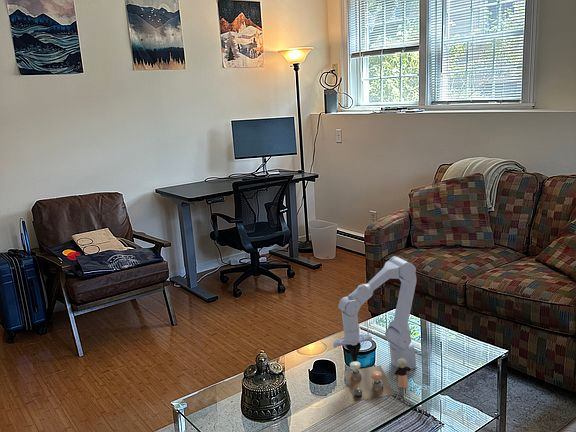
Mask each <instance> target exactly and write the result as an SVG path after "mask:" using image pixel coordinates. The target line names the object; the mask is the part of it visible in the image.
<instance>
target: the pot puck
mask: <svg viewBox="0 0 576 432" xmlns="http://www.w3.org/2000/svg"><path fill="white" fill-rule="evenodd" d="M354 396H355V397H357V398H360V397H362V390H361V389H359V388H357V389H355V390H354Z"/></svg>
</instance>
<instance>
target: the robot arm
mask: <svg viewBox="0 0 576 432" xmlns="http://www.w3.org/2000/svg"><path fill="white" fill-rule="evenodd" d="M416 271H417V268H416V266H415V265H413V263H412V262H410V261H409V262H408V261H406V260H405V259H403V258H401V257H399V256H392V257H390V258H389V260H388V261H386V262H385V263H384V265H383V267H382V268H381V270H379V272H377V273H376V274H375V275H374V276H373V277H372V278H371V279H370V280H369V281H368V282H367V283H361V284H359V285H358V286H357V288H355V289H354V290H353V291H352V292H351V293H349V294H348V296H343V297H342V298H340V300H339V302H338V303H339V304H337V307H338V309H339V310H340V312H341V319H342V328H343V336H344V337H340V338H337V339H335V340H332V342H333V343H332V345H333V348H337V347H340V346H346V349H347V350H348V351H349V353H350V356H351V360H352V362H358V355H359V352H360V350H361V348H362V346H361V343H363V342H372V341H373V338H372V337H373V336H372V335H371V334H360V329H359V316H358V313H359V312H360V309H361V307H362V305H364V303H366V302H367V301H368V300H369V299H370V298H372V297H373V295H374V291H375V290H376V289H378V288H379V287H380V286H382V285H383V284H384V283H385V282H387V281H388V280H390V279H393V280H394V279H395V280H399V281H400V288H399V293H398V297H397V298H398V299H397V303H396V308H395V312H394V317H393V320H391V321H389V323H388V327H387V328H386V329H385V333H384V336H385V338H386V340H387V341H388V343H389V345H388V346H389V355H390V357H389V358H390V363H391V365H392V366H394V367H397V368H399V365H398V363H397V361H398V359H400V358H403V359H405V360H406V361H407V363H406V366H407V367H409V368H411V370H412V369H417V368H418V366H417V359H416V349H415V345H414V344H413V343H412V337H411V334H412V331H411V330H412V329H411V328H410V326H409V319H410V314H411V309H412V304H413V299H414V295H415V292H416V291H415V290H416V285H417V279H418V278H417V274H416Z"/></svg>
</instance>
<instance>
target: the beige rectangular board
mask: <svg viewBox="0 0 576 432" xmlns="http://www.w3.org/2000/svg"><path fill="white" fill-rule="evenodd" d="M374 371H380V372H381V373H382V379H380V380H379V383H378V384H377V383H375V380H374V379H372V378H371V373H372V372H374ZM343 374H344V377H345V380H346V382H347V385H348V387H349V391H350V394H351V395H352V398H353V399H354V400H353V401H354V402H359V401H364V400H369V399H370V400H371V399H374V398H382V397H387V396H392V395H396V393H395V390H394V389H393V386H392V384H391V382H390V380H389V379H388V377H387V375H386V373H385V371H384V369H383V368H382V365H380V364H379V365H375V366H369V367H364V368H360V369H358V373H354V370H352V369H351V370H348V371H346V370H345V371H343ZM357 388H359V389H361V390H362V397H360V398H357V397H355V396H354V390H355V389H357Z"/></svg>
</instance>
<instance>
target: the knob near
mask: <svg viewBox="0 0 576 432" xmlns="http://www.w3.org/2000/svg"><path fill="white" fill-rule="evenodd" d="M371 378H372V379H374V380H375V383H377V384H378V383H379V380H380V379H382V373H381V372H380V371H374V372H372V373H371Z"/></svg>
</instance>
